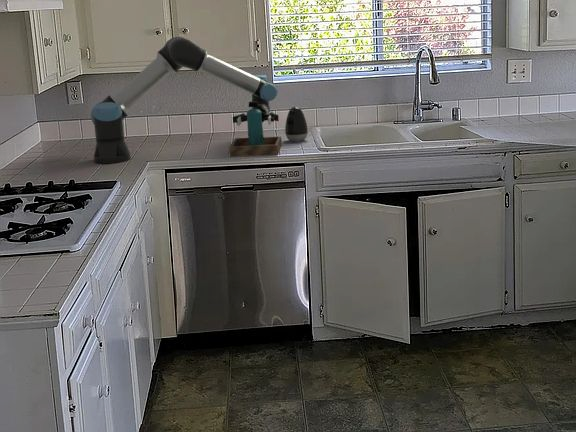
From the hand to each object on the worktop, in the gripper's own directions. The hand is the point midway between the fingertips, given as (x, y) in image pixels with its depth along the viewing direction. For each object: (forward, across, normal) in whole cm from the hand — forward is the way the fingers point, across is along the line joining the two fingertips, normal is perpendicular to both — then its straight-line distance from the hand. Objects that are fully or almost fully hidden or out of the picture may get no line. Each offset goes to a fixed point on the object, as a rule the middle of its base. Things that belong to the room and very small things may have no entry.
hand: (253, 121), depth 358 cm
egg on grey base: (-24, -16, -13) cm, 31 cm away
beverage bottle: (-4, 0, -12) cm, 13 cm away
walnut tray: (-4, 0, -13) cm, 13 cm away
